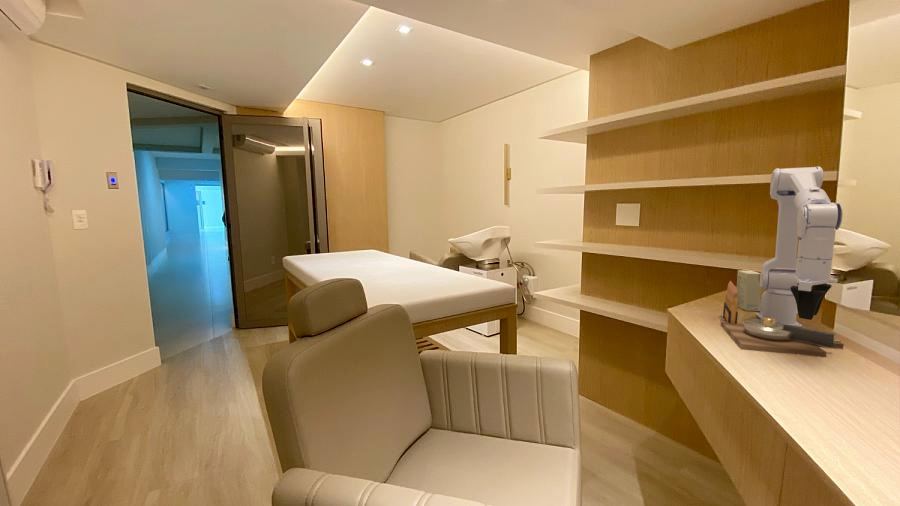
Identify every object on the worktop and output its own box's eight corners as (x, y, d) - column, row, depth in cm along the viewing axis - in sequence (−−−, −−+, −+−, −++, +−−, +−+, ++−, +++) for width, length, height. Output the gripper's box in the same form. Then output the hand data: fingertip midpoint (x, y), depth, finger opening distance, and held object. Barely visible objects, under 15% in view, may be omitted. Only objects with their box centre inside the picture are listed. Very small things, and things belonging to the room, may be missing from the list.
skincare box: (760, 311, 121) (764, 273, 119) (745, 311, 122) (748, 273, 120) (749, 305, 127) (752, 269, 125) (734, 305, 128) (737, 269, 126)
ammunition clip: (736, 329, 107) (740, 288, 105) (728, 328, 108) (732, 287, 106) (729, 318, 116) (733, 280, 115) (722, 318, 117) (726, 279, 115)
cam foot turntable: (738, 332, 99) (739, 317, 98) (750, 324, 105) (751, 310, 104) (829, 352, 86) (831, 335, 85) (837, 341, 92) (839, 325, 91)
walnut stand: (720, 325, 110) (721, 320, 109) (820, 333, 101) (821, 328, 101) (741, 348, 93) (741, 343, 93) (862, 360, 85) (862, 354, 85)
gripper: (833, 264, 78) (826, 327, 80) (845, 255, 86) (838, 313, 88) (788, 260, 83) (782, 320, 85) (803, 252, 92) (797, 307, 94)
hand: (807, 316), depth 87 cm, fingers open, 4 cm apart
